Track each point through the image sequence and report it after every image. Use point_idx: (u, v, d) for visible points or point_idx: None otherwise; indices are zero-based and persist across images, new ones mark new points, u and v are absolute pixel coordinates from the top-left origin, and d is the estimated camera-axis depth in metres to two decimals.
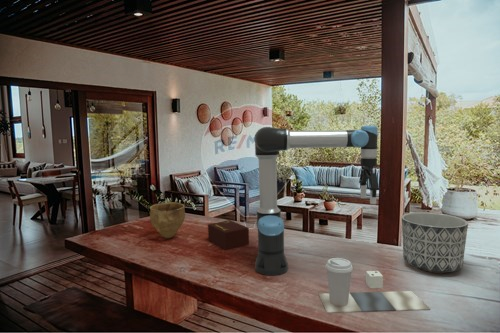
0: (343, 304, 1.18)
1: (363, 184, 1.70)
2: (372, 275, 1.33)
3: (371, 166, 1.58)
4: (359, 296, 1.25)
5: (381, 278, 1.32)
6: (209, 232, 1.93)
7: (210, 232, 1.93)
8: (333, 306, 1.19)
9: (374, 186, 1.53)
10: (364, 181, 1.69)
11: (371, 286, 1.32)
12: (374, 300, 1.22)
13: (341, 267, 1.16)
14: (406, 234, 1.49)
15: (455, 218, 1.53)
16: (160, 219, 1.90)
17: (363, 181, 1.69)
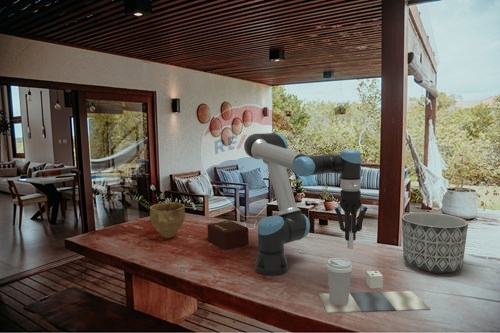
0: (343, 304, 1.18)
1: (352, 231, 1.32)
2: (372, 275, 1.33)
3: None
4: (359, 296, 1.25)
5: (381, 278, 1.32)
6: (209, 233, 1.93)
7: (209, 232, 1.93)
8: (333, 306, 1.19)
9: (340, 227, 1.33)
10: (352, 224, 1.32)
11: (371, 286, 1.32)
12: (374, 300, 1.22)
13: (341, 267, 1.16)
14: (406, 234, 1.49)
15: (455, 218, 1.53)
16: (160, 219, 1.90)
17: (351, 223, 1.32)
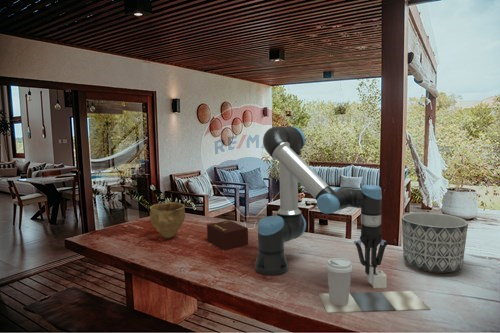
0: (343, 304, 1.18)
1: (372, 264, 1.34)
2: (376, 275, 1.33)
3: None
4: (359, 296, 1.25)
5: (385, 278, 1.32)
6: (208, 233, 1.93)
7: (209, 232, 1.93)
8: (333, 306, 1.19)
9: (360, 261, 1.34)
10: (372, 258, 1.33)
11: (375, 286, 1.32)
12: (374, 300, 1.22)
13: (341, 267, 1.16)
14: (406, 234, 1.49)
15: (455, 218, 1.53)
16: (160, 219, 1.90)
17: (371, 257, 1.34)
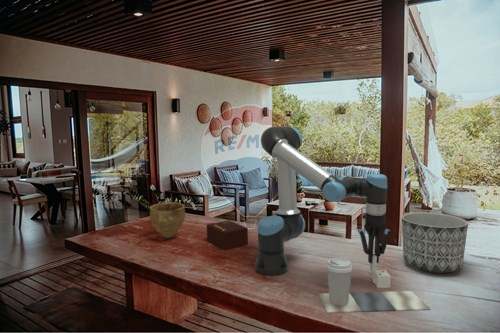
0: (343, 304, 1.18)
1: (375, 253, 1.34)
2: (379, 274, 1.33)
3: None
4: (359, 296, 1.25)
5: (388, 277, 1.32)
6: (208, 233, 1.93)
7: (208, 232, 1.93)
8: (333, 306, 1.19)
9: (363, 249, 1.34)
10: (375, 247, 1.33)
11: (378, 285, 1.33)
12: (374, 300, 1.22)
13: (341, 267, 1.16)
14: (406, 234, 1.49)
15: (455, 218, 1.53)
16: (160, 219, 1.90)
17: (375, 246, 1.34)
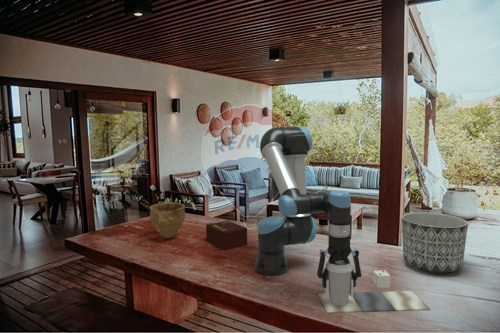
0: (343, 304, 1.18)
1: (351, 276, 1.21)
2: (379, 274, 1.33)
3: None
4: (359, 296, 1.25)
5: (388, 277, 1.32)
6: (207, 233, 1.93)
7: (208, 232, 1.92)
8: (333, 306, 1.19)
9: (317, 272, 1.21)
10: None
11: (378, 285, 1.33)
12: (374, 300, 1.22)
13: (341, 267, 1.16)
14: (406, 234, 1.49)
15: (455, 218, 1.53)
16: (160, 219, 1.90)
17: None
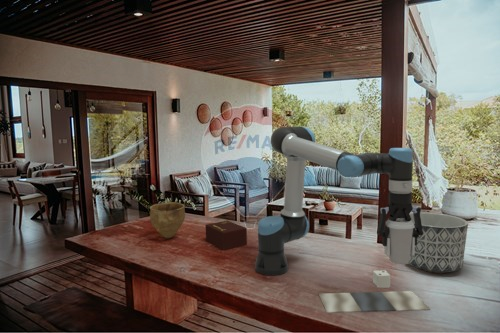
0: (405, 262, 1.17)
1: (412, 235, 1.19)
2: (379, 274, 1.33)
3: None
4: (359, 296, 1.25)
5: (388, 277, 1.32)
6: (207, 233, 1.93)
7: (207, 232, 1.92)
8: (333, 306, 1.19)
9: (377, 230, 1.20)
10: None
11: (378, 285, 1.33)
12: (374, 300, 1.22)
13: (404, 223, 1.14)
14: None
15: (455, 218, 1.53)
16: (160, 219, 1.90)
17: None
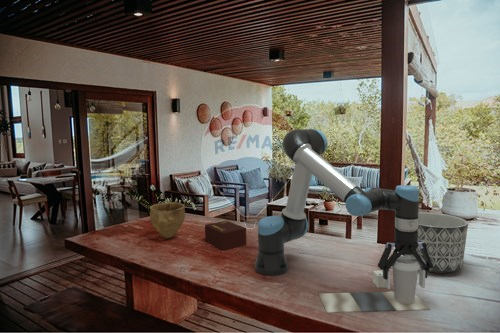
0: (410, 302, 1.19)
1: (423, 267, 1.21)
2: (379, 274, 1.33)
3: (395, 239, 1.20)
4: (359, 296, 1.25)
5: None
6: (206, 233, 1.92)
7: (207, 233, 1.92)
8: (333, 306, 1.19)
9: (379, 263, 1.21)
10: (419, 263, 1.21)
11: (378, 285, 1.33)
12: (374, 300, 1.22)
13: (409, 265, 1.16)
14: None
15: (455, 218, 1.53)
16: (160, 219, 1.90)
17: None
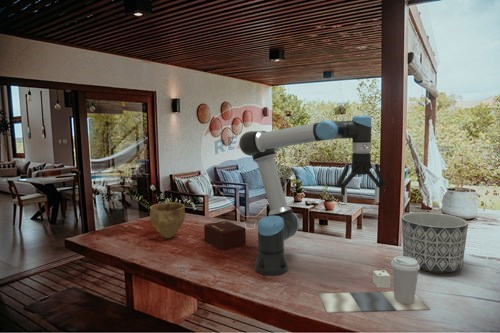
0: (410, 302, 1.19)
1: (377, 185, 1.42)
2: (379, 274, 1.33)
3: (352, 162, 1.41)
4: (359, 296, 1.25)
5: (388, 277, 1.32)
6: (205, 233, 1.92)
7: (206, 233, 1.92)
8: (333, 306, 1.19)
9: (337, 182, 1.42)
10: (374, 181, 1.42)
11: (378, 285, 1.33)
12: (374, 300, 1.22)
13: (410, 265, 1.16)
14: (406, 234, 1.49)
15: (455, 218, 1.53)
16: (160, 219, 1.90)
17: (373, 181, 1.42)
